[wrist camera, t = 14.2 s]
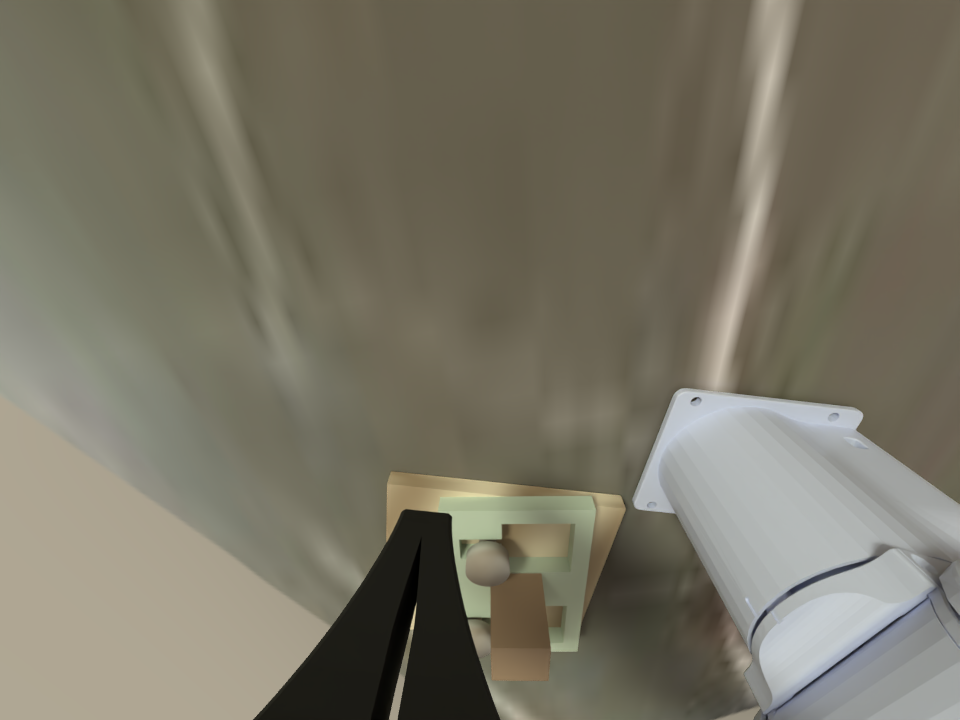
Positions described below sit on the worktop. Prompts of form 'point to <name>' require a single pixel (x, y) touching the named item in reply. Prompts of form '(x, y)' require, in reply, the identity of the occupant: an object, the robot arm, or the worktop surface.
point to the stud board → (506, 534)
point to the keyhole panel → (553, 567)
